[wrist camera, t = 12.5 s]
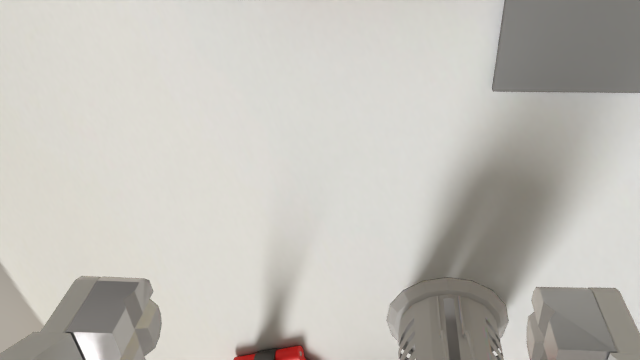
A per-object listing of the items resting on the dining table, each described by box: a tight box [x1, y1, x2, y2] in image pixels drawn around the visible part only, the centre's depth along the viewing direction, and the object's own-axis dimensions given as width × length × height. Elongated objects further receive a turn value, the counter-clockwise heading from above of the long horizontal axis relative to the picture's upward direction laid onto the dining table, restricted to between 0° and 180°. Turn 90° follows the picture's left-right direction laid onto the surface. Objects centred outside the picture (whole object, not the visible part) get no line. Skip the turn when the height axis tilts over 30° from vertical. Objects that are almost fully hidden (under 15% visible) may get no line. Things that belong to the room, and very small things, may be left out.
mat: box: [492, 0, 640, 93], centre depth 30 cm, size 12×10×1 cm
